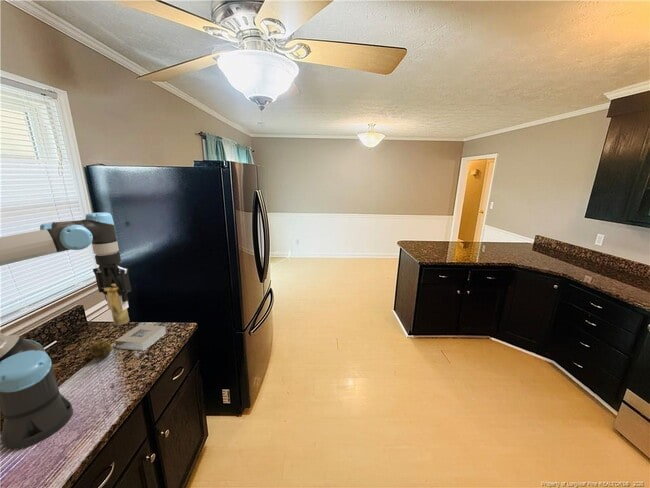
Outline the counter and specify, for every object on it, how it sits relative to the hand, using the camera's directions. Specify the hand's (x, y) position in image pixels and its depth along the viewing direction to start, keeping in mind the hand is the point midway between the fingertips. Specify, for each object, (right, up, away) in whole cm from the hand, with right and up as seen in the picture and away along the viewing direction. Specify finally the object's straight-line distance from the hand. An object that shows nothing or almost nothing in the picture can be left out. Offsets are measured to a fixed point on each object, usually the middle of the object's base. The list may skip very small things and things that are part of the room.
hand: (118, 308), depth 106 cm
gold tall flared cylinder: (0, -6, +1) cm, 6 cm away
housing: (-4, -20, +20) cm, 29 cm away
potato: (-14, -23, +10) cm, 29 cm away
